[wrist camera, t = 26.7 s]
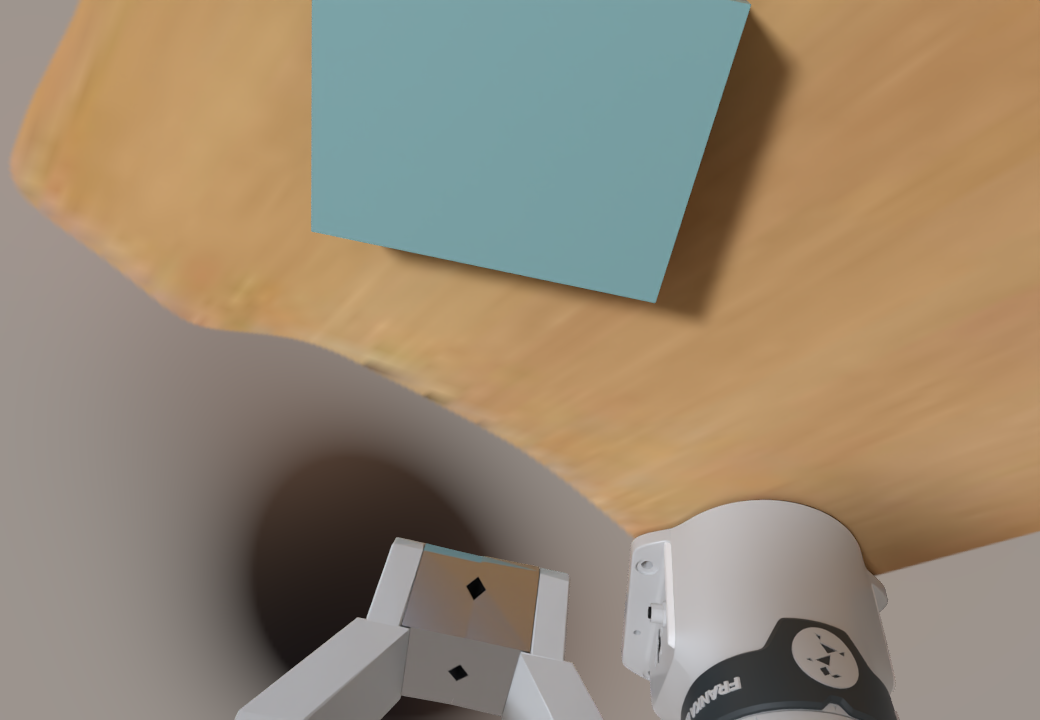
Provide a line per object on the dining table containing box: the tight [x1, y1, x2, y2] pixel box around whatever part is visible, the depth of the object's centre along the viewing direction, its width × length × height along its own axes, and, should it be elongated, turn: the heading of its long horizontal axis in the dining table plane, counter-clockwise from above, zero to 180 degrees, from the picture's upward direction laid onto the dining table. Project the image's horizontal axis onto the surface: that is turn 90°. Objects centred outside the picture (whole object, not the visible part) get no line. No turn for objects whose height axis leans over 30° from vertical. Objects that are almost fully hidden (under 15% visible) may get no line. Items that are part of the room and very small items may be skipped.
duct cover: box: [311, 0, 751, 303], centre depth 33 cm, size 14×18×1 cm
